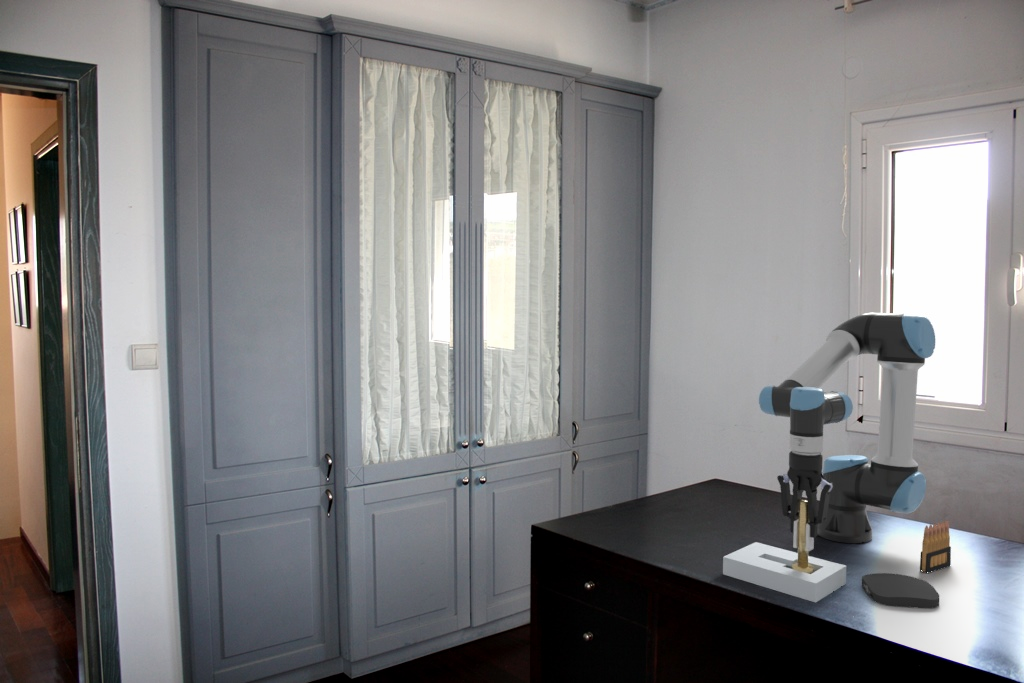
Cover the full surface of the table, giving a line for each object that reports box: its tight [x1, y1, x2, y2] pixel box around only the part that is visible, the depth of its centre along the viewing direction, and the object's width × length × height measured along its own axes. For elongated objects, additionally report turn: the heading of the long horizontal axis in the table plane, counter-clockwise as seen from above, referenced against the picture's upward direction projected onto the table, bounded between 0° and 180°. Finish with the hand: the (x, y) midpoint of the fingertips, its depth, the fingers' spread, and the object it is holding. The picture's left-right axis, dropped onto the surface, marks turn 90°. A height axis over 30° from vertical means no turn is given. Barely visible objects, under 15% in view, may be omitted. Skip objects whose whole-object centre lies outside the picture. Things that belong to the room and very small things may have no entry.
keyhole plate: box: [722, 541, 847, 603], centre depth 189 cm, size 24×16×4 cm, turn 43°
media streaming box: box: [861, 572, 940, 609], centre depth 179 cm, size 15×15×3 cm
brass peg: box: [792, 499, 813, 574], centre depth 184 cm, size 5×5×18 cm
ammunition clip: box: [919, 519, 952, 574], centre depth 195 cm, size 11×2×12 cm, turn 121°
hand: (803, 547), depth 185 cm, fingers closed on brass peg, 2 cm apart
